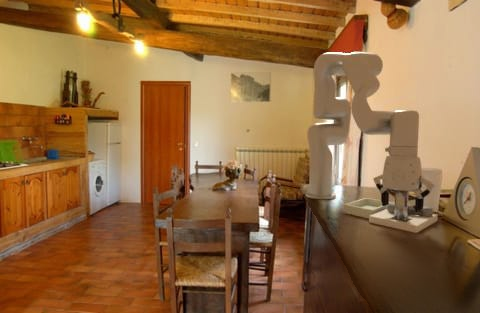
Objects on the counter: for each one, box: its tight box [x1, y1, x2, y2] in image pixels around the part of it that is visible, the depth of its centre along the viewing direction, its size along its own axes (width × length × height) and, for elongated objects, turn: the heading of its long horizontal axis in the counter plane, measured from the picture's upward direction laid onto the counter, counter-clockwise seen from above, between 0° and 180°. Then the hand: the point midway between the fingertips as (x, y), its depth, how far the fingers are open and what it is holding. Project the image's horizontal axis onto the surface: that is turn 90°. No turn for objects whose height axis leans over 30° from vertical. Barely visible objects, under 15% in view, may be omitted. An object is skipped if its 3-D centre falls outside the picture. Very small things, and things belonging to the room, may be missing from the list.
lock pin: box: [394, 190, 410, 222], centre depth 97 cm, size 5×5×13 cm
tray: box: [343, 197, 388, 219], centre depth 112 cm, size 10×15×3 cm
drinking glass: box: [421, 167, 443, 213], centre depth 112 cm, size 7×7×15 cm
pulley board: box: [368, 201, 439, 234], centre depth 101 cm, size 14×17×5 cm
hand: (401, 208), depth 97 cm, fingers open, 9 cm apart
